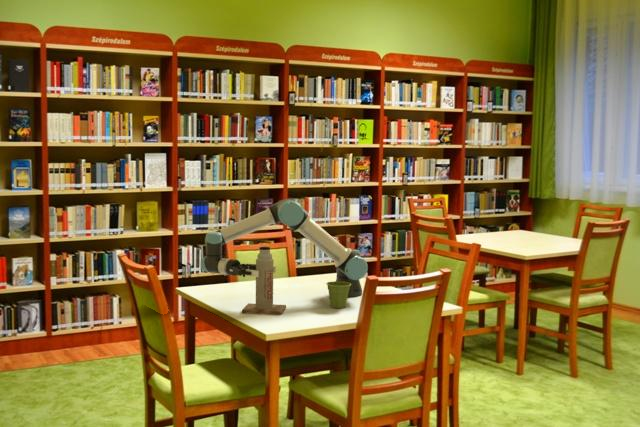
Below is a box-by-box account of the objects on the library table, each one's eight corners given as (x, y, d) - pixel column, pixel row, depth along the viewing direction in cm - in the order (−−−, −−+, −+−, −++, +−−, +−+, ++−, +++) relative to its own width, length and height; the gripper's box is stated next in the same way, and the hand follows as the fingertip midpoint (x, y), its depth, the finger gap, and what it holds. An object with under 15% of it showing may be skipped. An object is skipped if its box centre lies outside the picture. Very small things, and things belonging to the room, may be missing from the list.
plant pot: (342, 310, 349) (343, 287, 348) (321, 307, 355) (321, 284, 354) (355, 306, 359) (355, 283, 358) (334, 303, 365) (334, 280, 364)
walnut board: (286, 308, 353) (286, 304, 353) (281, 314, 339) (281, 311, 339) (248, 306, 355) (248, 303, 355) (241, 313, 341) (241, 309, 341)
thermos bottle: (275, 308, 345) (276, 247, 342) (259, 309, 341) (260, 248, 339) (268, 304, 352) (269, 245, 349) (252, 306, 348) (253, 246, 346)
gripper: (245, 271, 366) (282, 275, 355) (213, 278, 345) (250, 284, 334) (245, 255, 365) (282, 260, 354) (213, 262, 344) (250, 267, 333)
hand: (266, 271), depth 344 cm, fingers open, 13 cm apart
